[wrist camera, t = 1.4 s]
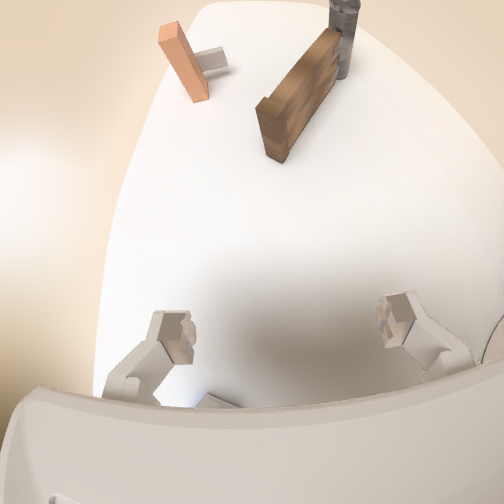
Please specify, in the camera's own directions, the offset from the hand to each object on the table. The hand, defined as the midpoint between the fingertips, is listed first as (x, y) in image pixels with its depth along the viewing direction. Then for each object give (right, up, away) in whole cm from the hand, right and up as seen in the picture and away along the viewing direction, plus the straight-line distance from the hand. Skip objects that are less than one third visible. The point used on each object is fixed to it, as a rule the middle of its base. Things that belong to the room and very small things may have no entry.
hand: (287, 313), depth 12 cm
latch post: (-7, +24, +22) cm, 33 cm away
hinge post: (+9, +26, +19) cm, 34 cm away
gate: (+5, +18, +19) cm, 27 cm away
